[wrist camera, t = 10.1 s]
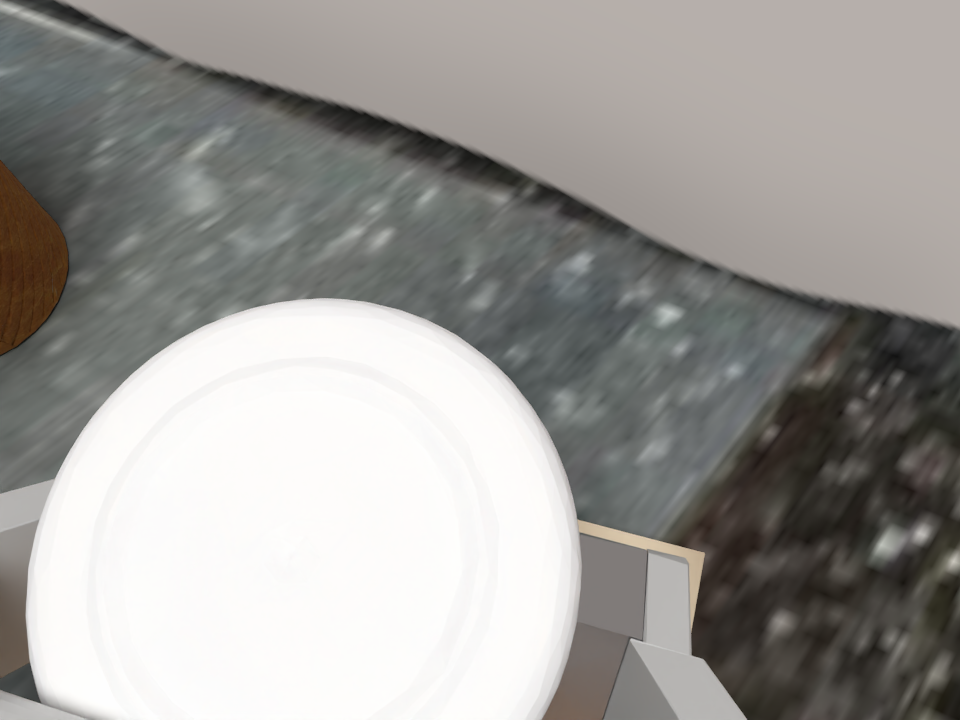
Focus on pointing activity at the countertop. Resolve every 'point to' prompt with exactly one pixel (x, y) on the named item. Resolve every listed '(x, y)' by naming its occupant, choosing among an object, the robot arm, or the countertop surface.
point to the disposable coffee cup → (27, 262)
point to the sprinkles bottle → (308, 532)
